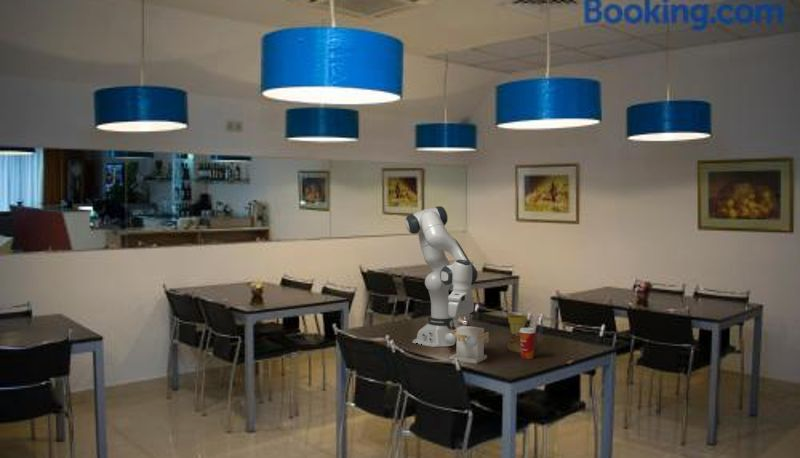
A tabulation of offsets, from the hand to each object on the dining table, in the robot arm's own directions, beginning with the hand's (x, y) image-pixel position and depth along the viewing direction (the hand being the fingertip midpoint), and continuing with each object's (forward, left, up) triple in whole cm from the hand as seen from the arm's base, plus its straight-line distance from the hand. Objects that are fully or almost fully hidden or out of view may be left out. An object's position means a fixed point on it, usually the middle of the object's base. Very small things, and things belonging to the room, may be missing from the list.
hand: (461, 324), depth 308 cm
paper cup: (+23, +25, -18) cm, 38 cm away
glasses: (0, +6, -10) cm, 11 cm away
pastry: (+13, +40, -18) cm, 46 cm away
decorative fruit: (-2, +24, -18) cm, 30 cm away
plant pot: (-2, +76, -18) cm, 78 cm away
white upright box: (0, +6, -18) cm, 19 cm away
